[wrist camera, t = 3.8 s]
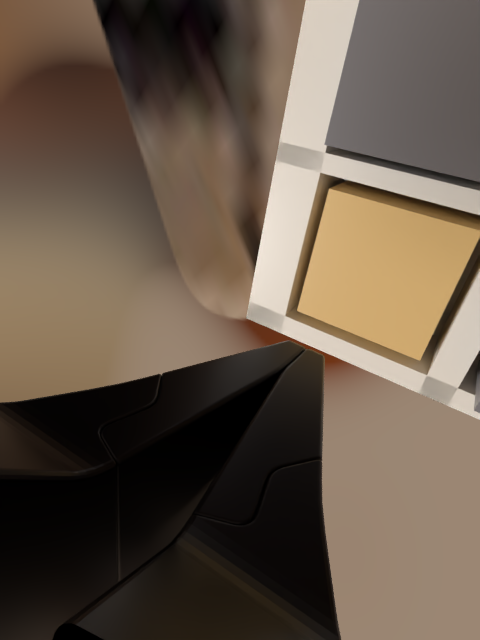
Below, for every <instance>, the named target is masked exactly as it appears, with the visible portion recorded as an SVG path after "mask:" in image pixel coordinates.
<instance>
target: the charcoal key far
mask: <svg viewBox="0 0 480 640" xmlns="http://www.w3.org/2000/svg"><path fill="white" fill-rule="evenodd" d="M474 411H476V412H478V413H480V360H479V362H478V371H477V382H476V393H475V403H474Z"/></svg>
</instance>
